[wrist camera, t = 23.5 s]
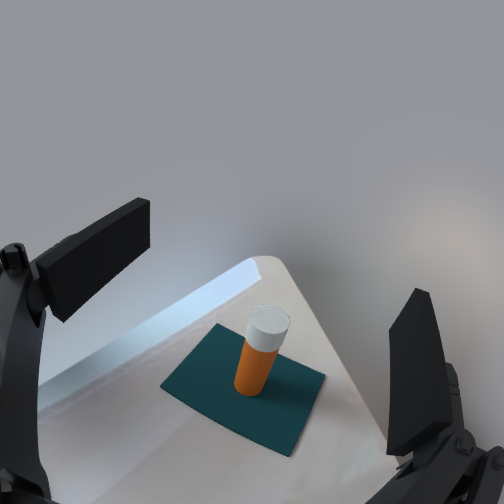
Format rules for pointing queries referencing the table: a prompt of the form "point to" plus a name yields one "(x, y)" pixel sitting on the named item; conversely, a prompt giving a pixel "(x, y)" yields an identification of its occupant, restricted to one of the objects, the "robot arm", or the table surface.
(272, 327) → the glue stick
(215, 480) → the table surface
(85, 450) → the table surface
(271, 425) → the mat
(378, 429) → the table surface
